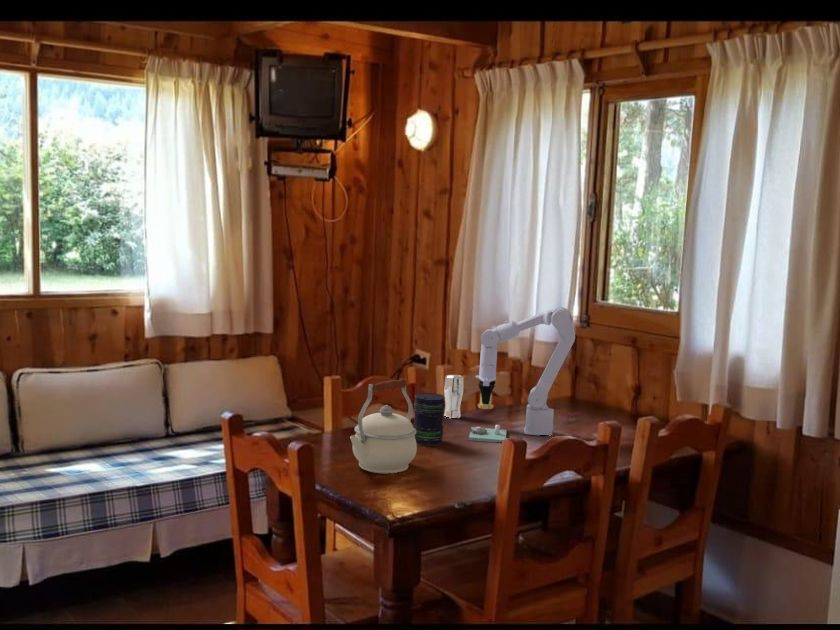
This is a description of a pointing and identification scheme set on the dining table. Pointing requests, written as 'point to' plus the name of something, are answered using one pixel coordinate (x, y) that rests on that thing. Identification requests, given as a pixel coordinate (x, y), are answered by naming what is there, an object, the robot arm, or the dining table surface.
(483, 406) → the planet gear
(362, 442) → the kettle
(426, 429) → the storage jar
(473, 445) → the dining table surface
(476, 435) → the carrier plate
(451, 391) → the beer glass
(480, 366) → the robot arm
